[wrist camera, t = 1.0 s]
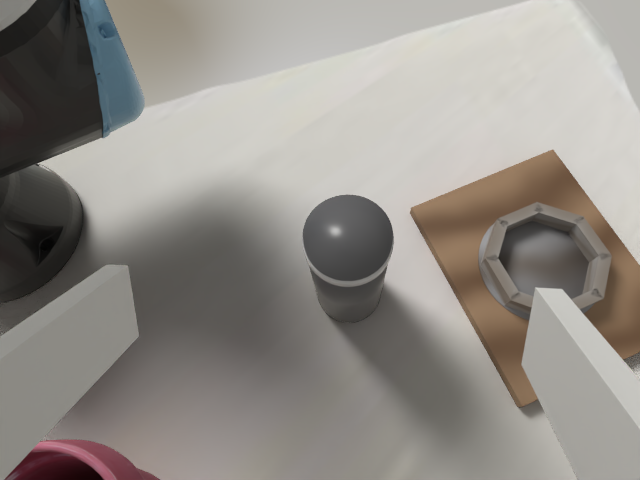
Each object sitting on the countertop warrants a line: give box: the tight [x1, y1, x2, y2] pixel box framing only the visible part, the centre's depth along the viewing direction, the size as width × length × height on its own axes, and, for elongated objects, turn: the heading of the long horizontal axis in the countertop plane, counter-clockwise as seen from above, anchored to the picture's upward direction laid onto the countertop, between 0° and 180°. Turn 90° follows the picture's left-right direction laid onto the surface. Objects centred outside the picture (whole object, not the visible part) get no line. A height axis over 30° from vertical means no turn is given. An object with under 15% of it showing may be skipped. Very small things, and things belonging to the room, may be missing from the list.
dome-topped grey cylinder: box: [302, 195, 394, 323], centre depth 36 cm, size 6×6×14 cm
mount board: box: [410, 150, 640, 407], centre depth 41 cm, size 20×16×3 cm
